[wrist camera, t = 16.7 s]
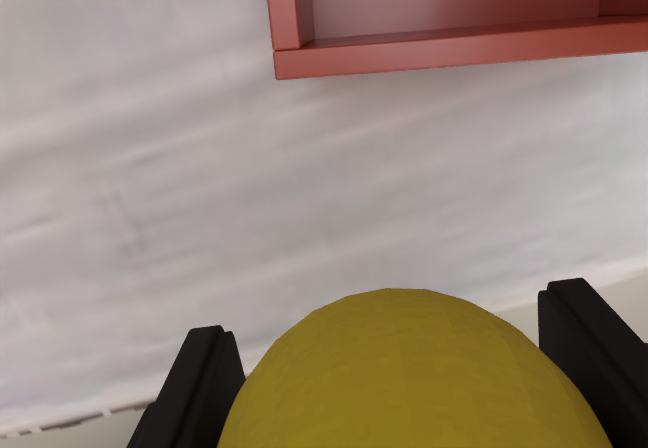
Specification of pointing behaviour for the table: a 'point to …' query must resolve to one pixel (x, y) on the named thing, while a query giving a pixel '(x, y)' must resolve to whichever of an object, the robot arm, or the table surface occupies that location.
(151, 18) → the table surface
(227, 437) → the lemon
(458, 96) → the table surface
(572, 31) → the bin
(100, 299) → the table surface
